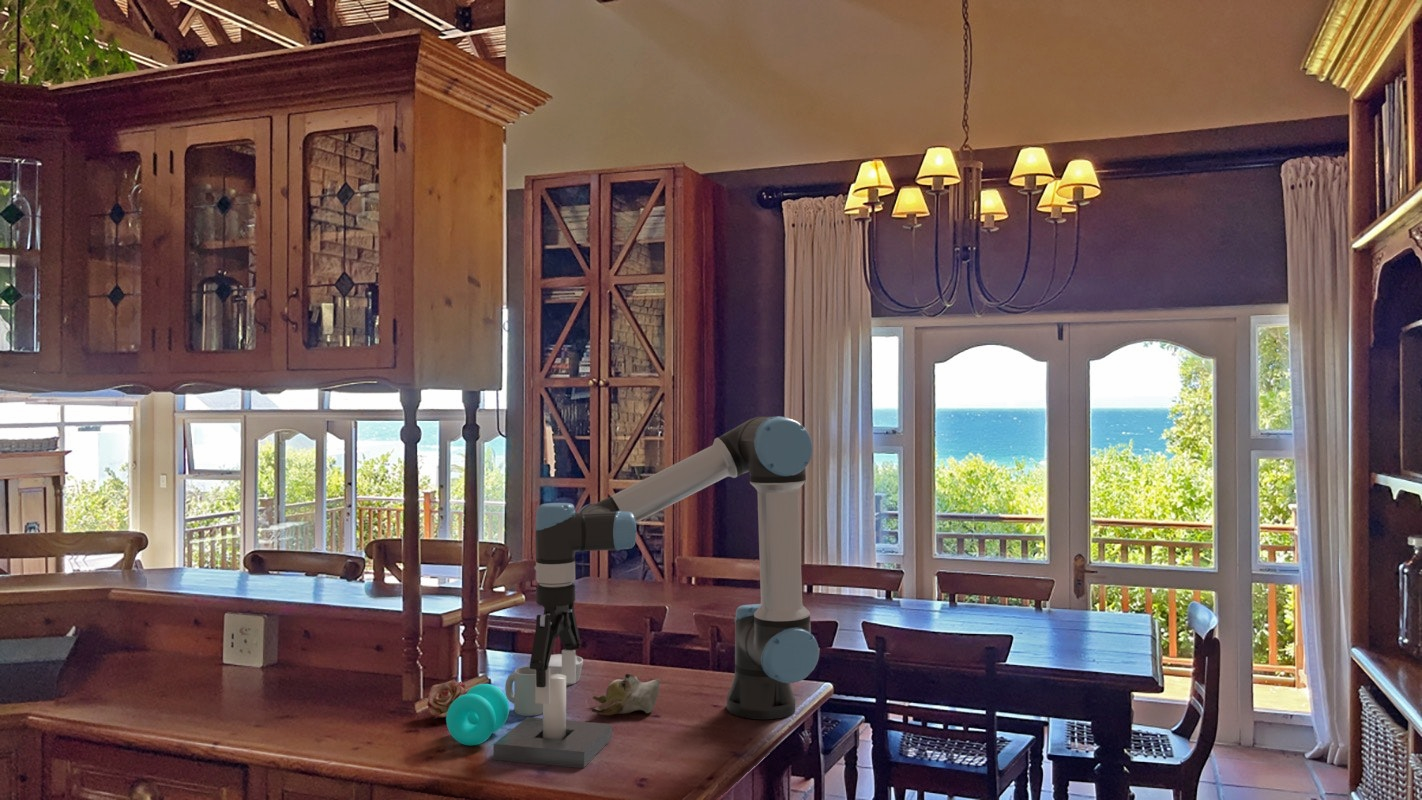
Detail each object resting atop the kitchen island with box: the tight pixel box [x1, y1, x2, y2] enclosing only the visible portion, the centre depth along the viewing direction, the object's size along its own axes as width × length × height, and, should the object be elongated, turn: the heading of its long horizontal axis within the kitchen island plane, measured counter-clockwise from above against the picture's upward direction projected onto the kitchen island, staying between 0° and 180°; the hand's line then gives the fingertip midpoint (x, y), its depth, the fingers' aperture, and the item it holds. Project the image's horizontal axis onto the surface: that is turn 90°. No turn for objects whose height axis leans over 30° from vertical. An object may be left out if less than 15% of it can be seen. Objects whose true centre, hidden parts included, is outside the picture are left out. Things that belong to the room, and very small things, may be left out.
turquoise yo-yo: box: [445, 683, 510, 746], centre depth 193 cm, size 10×10×10 cm
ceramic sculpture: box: [590, 673, 661, 716], centre depth 211 cm, size 11×9×15 cm
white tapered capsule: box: [542, 674, 567, 740], centre depth 188 cm, size 4×4×14 cm
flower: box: [426, 678, 467, 720], centre depth 206 cm, size 9×9×7 cm
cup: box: [504, 665, 543, 717], centre depth 211 cm, size 7×10×9 cm
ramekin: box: [548, 653, 584, 687], centre depth 234 cm, size 11×11×5 cm
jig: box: [492, 716, 613, 769], centre depth 188 cm, size 18×16×3 cm
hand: (556, 692), depth 188 cm, fingers open, 13 cm apart
